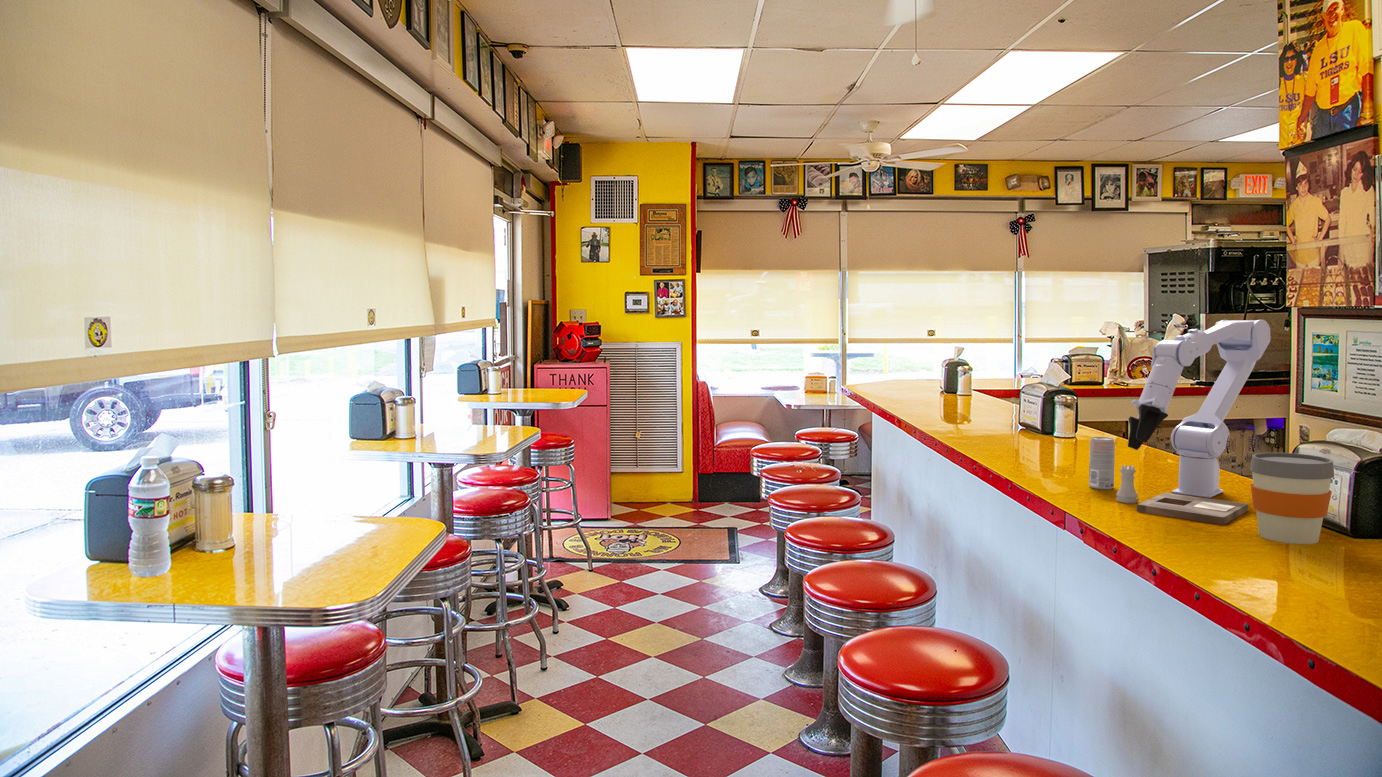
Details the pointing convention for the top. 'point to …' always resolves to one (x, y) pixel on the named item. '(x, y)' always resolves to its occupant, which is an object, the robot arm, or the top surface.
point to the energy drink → (1101, 463)
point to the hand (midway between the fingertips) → (1136, 444)
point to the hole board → (1193, 508)
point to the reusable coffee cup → (1291, 495)
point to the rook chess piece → (1127, 486)
